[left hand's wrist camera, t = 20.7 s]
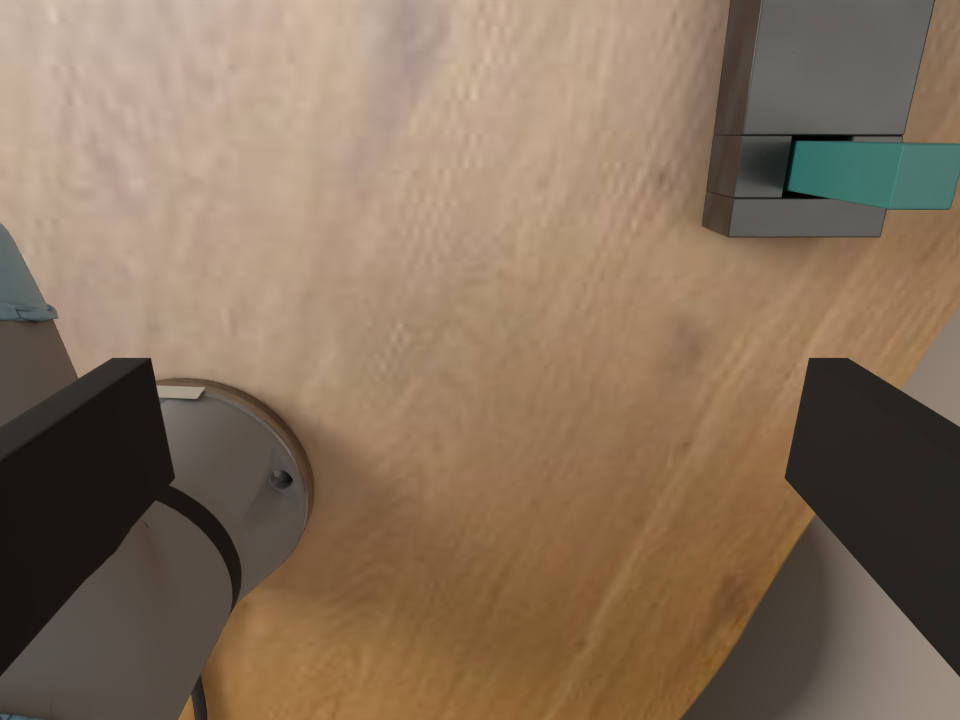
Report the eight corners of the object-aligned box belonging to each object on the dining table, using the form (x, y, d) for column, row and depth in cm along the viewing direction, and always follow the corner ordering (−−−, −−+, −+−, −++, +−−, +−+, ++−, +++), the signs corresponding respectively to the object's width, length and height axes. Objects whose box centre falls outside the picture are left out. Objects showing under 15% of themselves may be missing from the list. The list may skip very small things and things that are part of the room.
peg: (797, 184, 35) (951, 209, 23) (755, 184, 35) (888, 210, 23) (805, 140, 34) (969, 143, 22) (762, 140, 34) (904, 143, 22)
